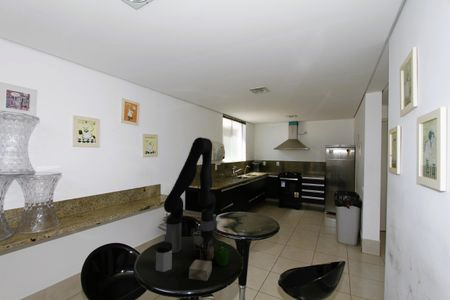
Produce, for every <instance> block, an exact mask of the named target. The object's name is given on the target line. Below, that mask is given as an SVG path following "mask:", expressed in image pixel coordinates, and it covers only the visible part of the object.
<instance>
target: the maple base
mask: <svg viewBox="0 0 450 300" xmlns="http://www.w3.org/2000/svg"><path fill="white" fill-rule="evenodd" d="M212 263H213V261H212V260H211V261H203V260H200V259H194V261H192V263H191V265H190V266H189V268H188V279H190V280H197V281H205V282H206V281H208V279H209V278H210V275H211V273H212V271H213V270H212V269H213V268H212V267H213V265H212Z"/></svg>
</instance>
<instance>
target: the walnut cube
mask: <svg viewBox="0 0 450 300" xmlns="http://www.w3.org/2000/svg"><path fill="white" fill-rule="evenodd" d="M206 248H207V247H206ZM214 258H215V249H214V246H212V247H210V246H209V248H208V250H207V260H206V261H212V260H213V259H214ZM199 260H203V254H201V249H200V250H199ZM203 261H205V260H203Z"/></svg>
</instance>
